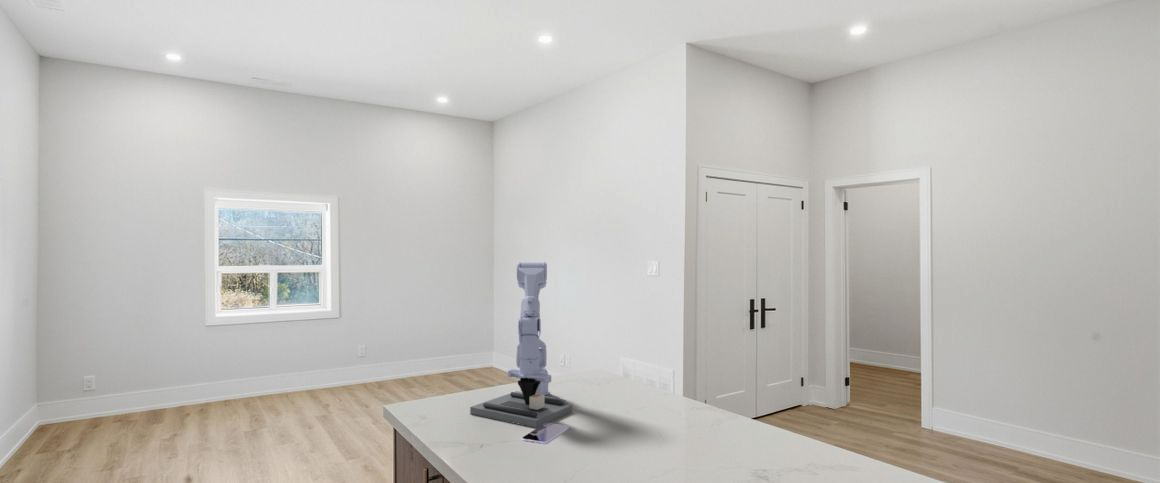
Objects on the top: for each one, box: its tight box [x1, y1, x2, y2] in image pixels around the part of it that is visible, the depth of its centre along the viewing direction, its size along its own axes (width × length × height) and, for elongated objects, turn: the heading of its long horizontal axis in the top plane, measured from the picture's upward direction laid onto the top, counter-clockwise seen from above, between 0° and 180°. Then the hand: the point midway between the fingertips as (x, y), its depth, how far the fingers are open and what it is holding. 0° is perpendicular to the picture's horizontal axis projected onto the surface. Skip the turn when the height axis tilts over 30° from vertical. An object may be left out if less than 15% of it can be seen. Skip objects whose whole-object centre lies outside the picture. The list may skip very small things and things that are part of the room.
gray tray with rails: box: [483, 390, 567, 417], centre depth 173 cm, size 17×20×1 cm
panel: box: [469, 393, 573, 429], centre depth 172 cm, size 18×24×2 cm
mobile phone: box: [521, 422, 570, 445], centre depth 154 cm, size 8×1×15 cm
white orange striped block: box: [529, 394, 546, 410], centre depth 169 cm, size 4×3×4 cm
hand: (529, 404), depth 171 cm, fingers closed
